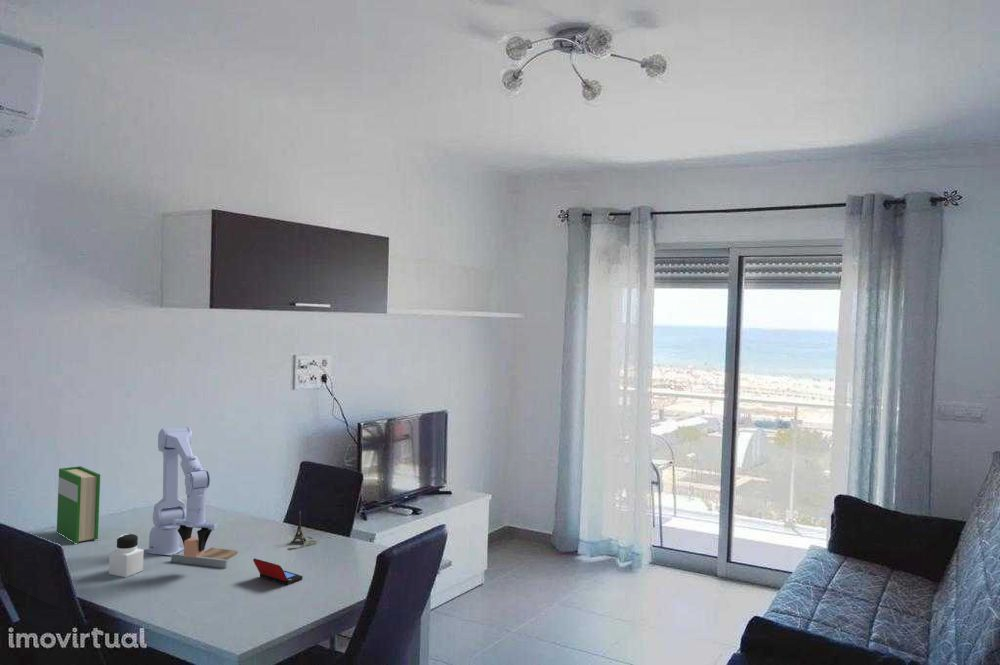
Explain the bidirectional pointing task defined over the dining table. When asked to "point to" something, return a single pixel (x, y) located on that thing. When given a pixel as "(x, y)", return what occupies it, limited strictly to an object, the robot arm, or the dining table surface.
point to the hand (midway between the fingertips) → (194, 549)
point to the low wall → (199, 561)
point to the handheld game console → (275, 573)
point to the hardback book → (78, 503)
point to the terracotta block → (192, 548)
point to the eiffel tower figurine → (301, 537)
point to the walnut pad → (219, 553)
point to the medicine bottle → (126, 557)
